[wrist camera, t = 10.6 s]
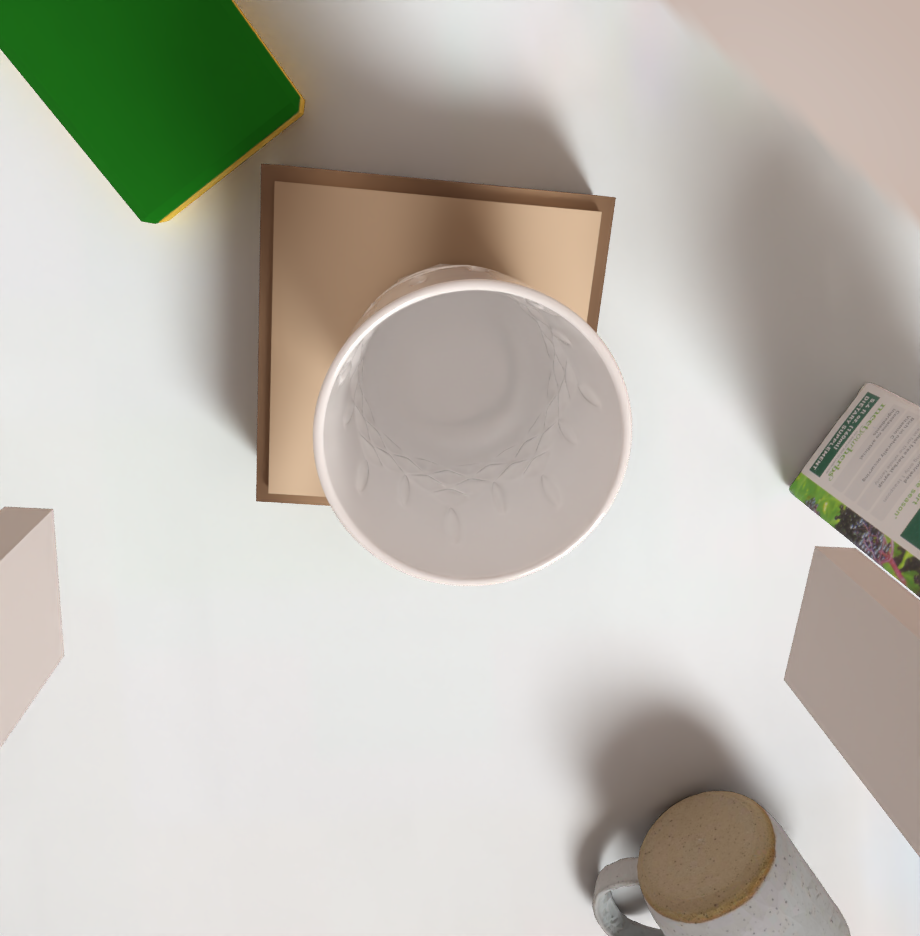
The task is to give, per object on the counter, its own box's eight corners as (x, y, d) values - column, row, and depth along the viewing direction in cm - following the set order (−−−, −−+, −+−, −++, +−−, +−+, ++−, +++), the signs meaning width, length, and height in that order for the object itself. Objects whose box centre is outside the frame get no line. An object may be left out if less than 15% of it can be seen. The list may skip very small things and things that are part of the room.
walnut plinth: (270, 469, 36) (254, 505, 32) (276, 164, 32) (259, 163, 28) (554, 487, 37) (571, 523, 33) (593, 194, 33) (618, 198, 29)
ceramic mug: (738, 752, 42) (805, 876, 35) (811, 858, 44) (887, 994, 37) (555, 855, 43) (582, 993, 36) (635, 951, 46) (676, 1098, 39)
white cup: (569, 449, 32) (640, 565, 22) (359, 477, 32) (341, 606, 22) (552, 231, 29) (624, 259, 20) (322, 261, 29) (285, 302, 20)
